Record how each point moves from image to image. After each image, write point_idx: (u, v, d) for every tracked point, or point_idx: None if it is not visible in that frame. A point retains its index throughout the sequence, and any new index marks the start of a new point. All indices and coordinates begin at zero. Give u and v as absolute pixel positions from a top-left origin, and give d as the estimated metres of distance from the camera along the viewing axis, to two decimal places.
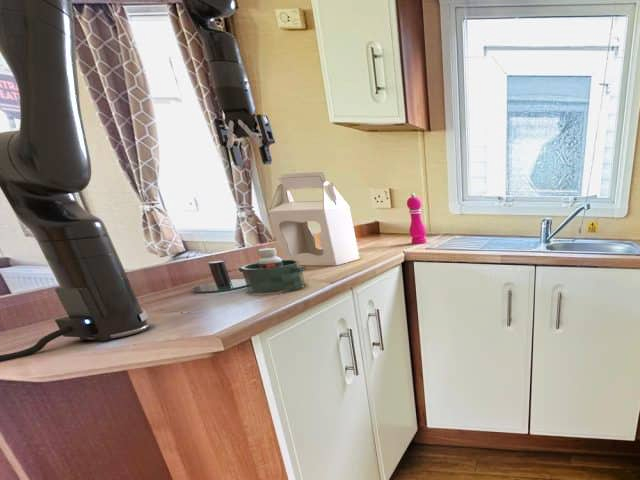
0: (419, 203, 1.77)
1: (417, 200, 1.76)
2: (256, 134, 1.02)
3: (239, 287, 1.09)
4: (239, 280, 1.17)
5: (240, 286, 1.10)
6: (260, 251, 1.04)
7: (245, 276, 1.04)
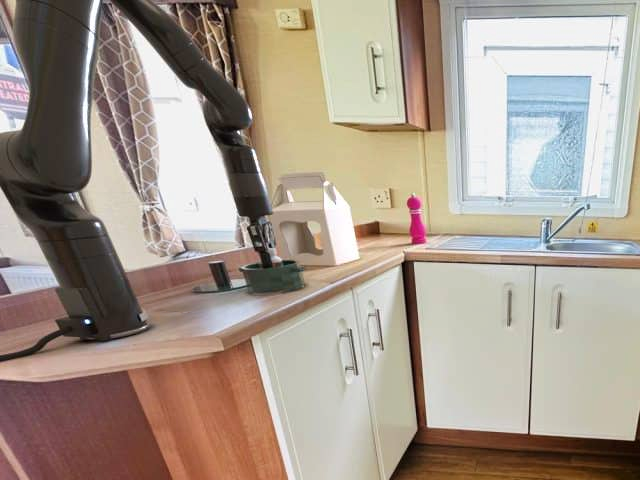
0: (419, 203, 1.77)
1: (417, 200, 1.76)
2: (257, 241, 1.02)
3: (239, 287, 1.09)
4: (239, 280, 1.17)
5: (240, 286, 1.10)
6: None
7: (245, 276, 1.04)
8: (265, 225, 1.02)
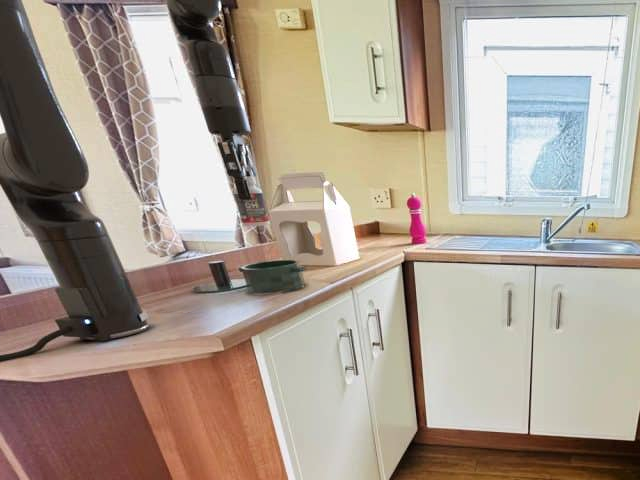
0: (419, 203, 1.77)
1: (417, 200, 1.76)
2: (231, 164, 0.85)
3: (239, 287, 1.09)
4: (239, 280, 1.17)
5: (240, 286, 1.10)
6: None
7: (245, 276, 1.04)
8: (241, 145, 0.86)
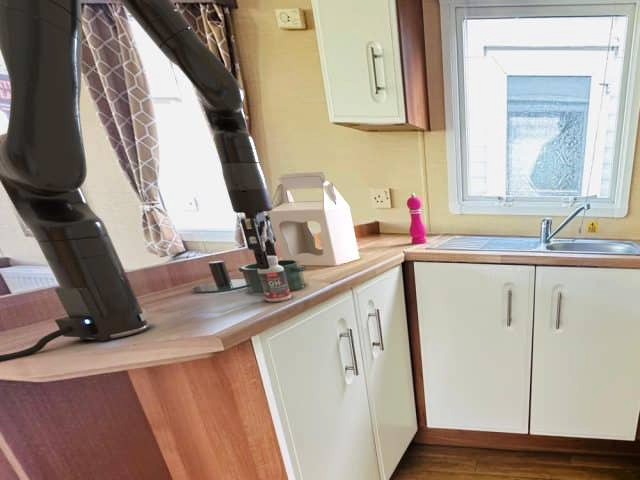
0: (419, 203, 1.77)
1: (417, 200, 1.76)
2: (252, 238, 0.89)
3: (239, 287, 1.09)
4: (239, 280, 1.17)
5: (240, 286, 1.10)
6: None
7: (245, 276, 1.04)
8: (263, 222, 0.91)
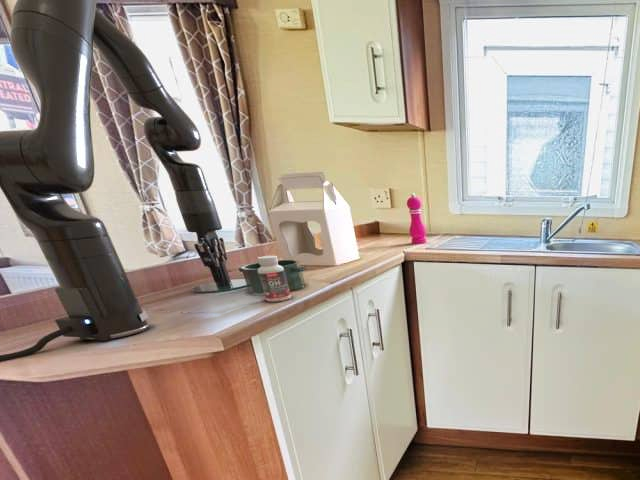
0: (419, 203, 1.77)
1: (417, 200, 1.76)
2: None
3: (239, 287, 1.09)
4: (239, 280, 1.17)
5: (240, 286, 1.10)
6: (260, 259, 0.94)
7: (245, 276, 1.04)
8: (213, 240, 1.06)
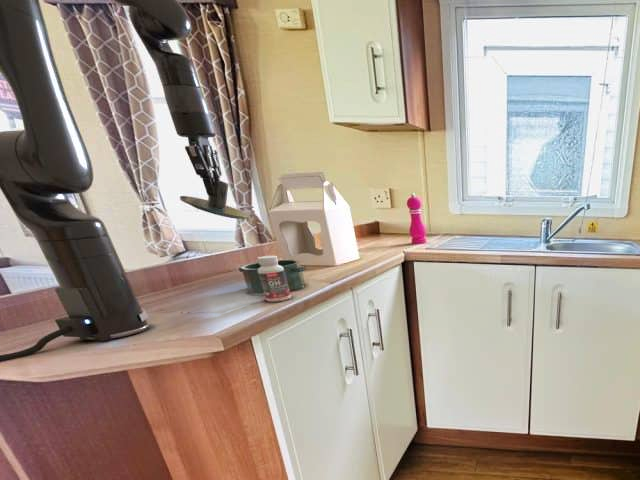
0: (419, 203, 1.77)
1: (417, 200, 1.76)
2: (199, 165, 0.97)
3: (236, 216, 1.01)
4: (232, 208, 1.08)
5: (237, 215, 1.01)
6: (260, 259, 0.94)
7: (245, 276, 1.04)
8: (206, 146, 0.96)
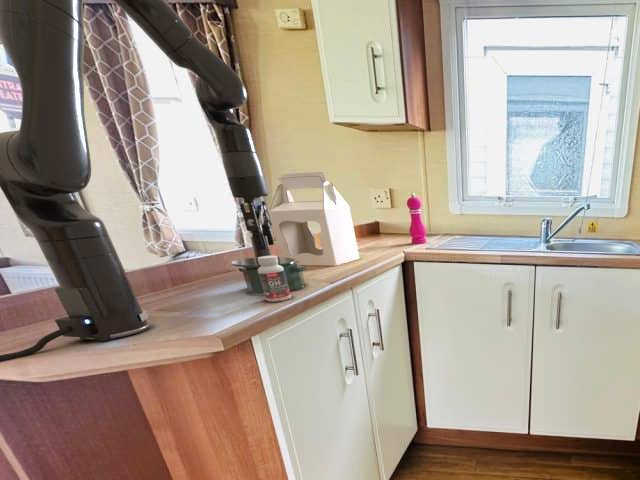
0: (419, 203, 1.77)
1: (417, 200, 1.76)
2: (250, 221, 0.99)
3: (283, 264, 1.04)
4: None
5: (284, 263, 1.04)
6: (260, 259, 0.94)
7: (245, 276, 1.04)
8: (260, 206, 1.00)
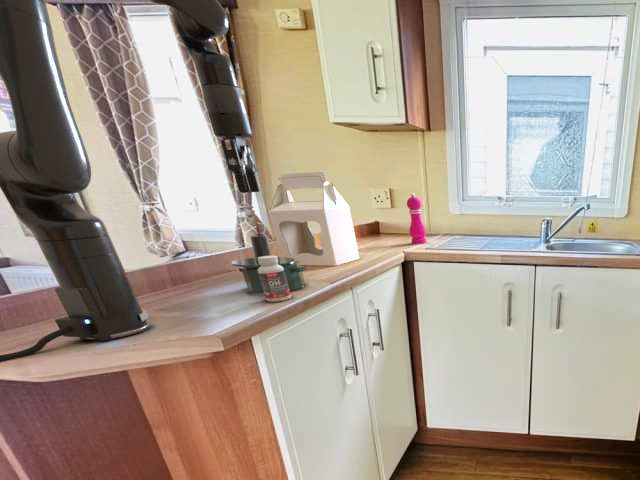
0: (419, 203, 1.77)
1: (417, 200, 1.76)
2: (232, 161, 0.94)
3: (283, 264, 1.04)
4: None
5: (284, 263, 1.04)
6: (260, 259, 0.94)
7: (245, 276, 1.04)
8: (243, 147, 0.95)
